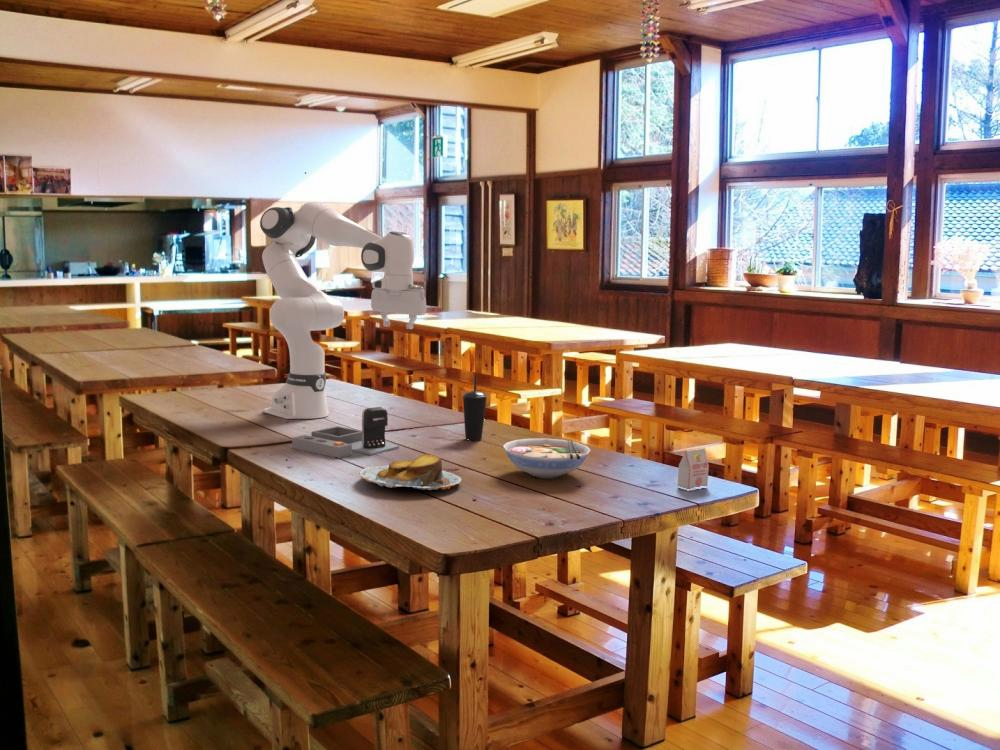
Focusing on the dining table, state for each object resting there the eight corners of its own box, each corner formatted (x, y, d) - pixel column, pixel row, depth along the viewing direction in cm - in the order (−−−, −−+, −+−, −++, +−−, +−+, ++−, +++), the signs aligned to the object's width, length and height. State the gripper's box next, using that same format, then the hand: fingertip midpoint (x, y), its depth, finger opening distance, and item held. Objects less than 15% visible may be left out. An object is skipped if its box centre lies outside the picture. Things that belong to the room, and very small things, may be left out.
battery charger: (367, 450, 271) (367, 409, 269) (360, 447, 274) (361, 407, 272) (389, 447, 275) (389, 407, 273) (382, 444, 278) (383, 405, 276)
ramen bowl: (503, 462, 265) (504, 432, 264) (586, 465, 265) (588, 436, 263) (500, 485, 240) (501, 453, 239) (592, 489, 240) (593, 457, 239)
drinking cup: (456, 440, 290) (458, 374, 287) (466, 435, 297) (468, 371, 294) (480, 443, 287) (482, 376, 284) (489, 438, 294) (491, 373, 291)
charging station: (283, 446, 274) (283, 433, 274) (337, 434, 293) (337, 422, 292) (339, 458, 263) (339, 445, 262) (391, 445, 281) (392, 432, 280)
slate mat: (339, 448, 274) (339, 446, 274) (367, 441, 284) (367, 439, 284) (371, 455, 267) (371, 453, 267) (399, 448, 277) (399, 445, 277)
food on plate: (350, 475, 247) (350, 450, 246) (443, 470, 256) (444, 446, 255) (372, 501, 223) (373, 474, 222) (474, 495, 232) (475, 468, 231)
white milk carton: (677, 488, 244) (679, 449, 243) (696, 484, 248) (699, 446, 247) (687, 491, 241) (690, 452, 240) (707, 488, 245) (709, 449, 243)
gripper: (431, 285, 301) (430, 329, 303) (381, 281, 313) (380, 324, 315) (418, 286, 296) (417, 331, 298) (368, 282, 307) (367, 325, 309)
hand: (398, 327), depth 307 cm, fingers open, 8 cm apart
